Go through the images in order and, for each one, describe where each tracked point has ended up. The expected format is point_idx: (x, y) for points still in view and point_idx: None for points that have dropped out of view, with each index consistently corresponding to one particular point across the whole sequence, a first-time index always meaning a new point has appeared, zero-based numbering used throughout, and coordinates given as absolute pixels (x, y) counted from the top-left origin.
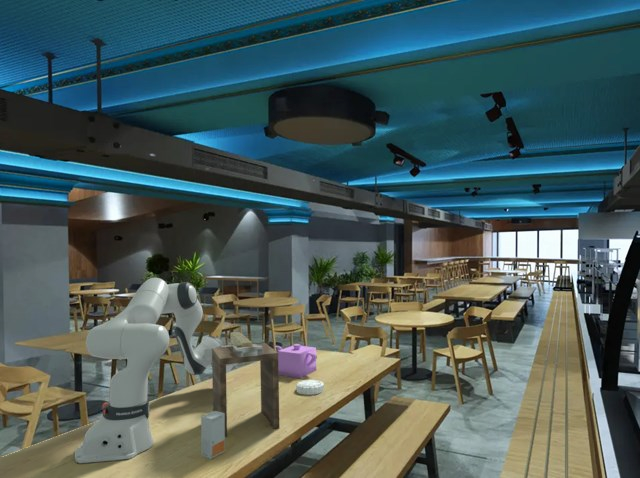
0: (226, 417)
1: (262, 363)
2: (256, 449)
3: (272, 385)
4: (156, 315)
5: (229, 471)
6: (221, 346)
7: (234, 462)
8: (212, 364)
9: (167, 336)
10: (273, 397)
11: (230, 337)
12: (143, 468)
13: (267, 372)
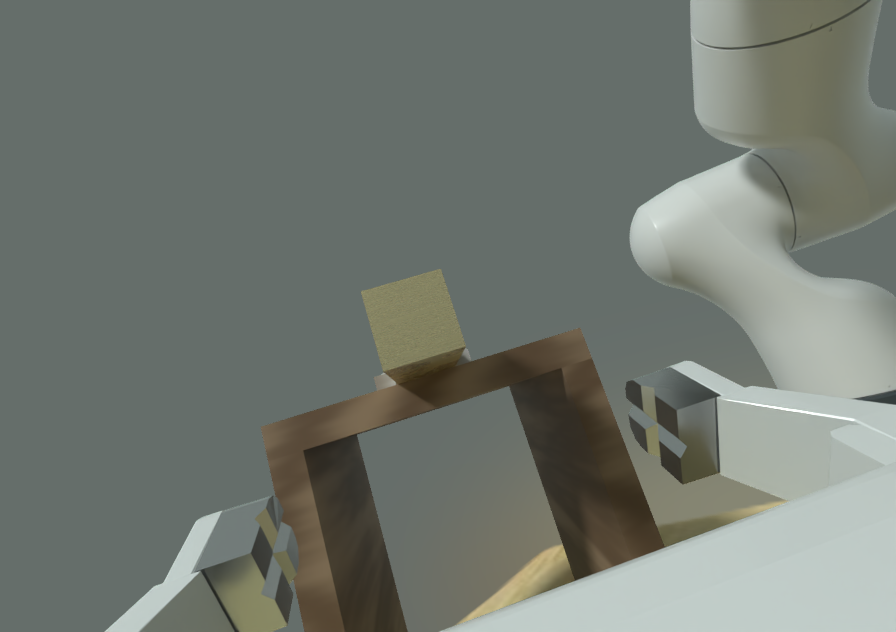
0: (570, 565)
1: (336, 523)
2: (501, 604)
3: (380, 534)
4: (702, 126)
5: (555, 547)
6: (628, 395)
7: (550, 564)
8: (611, 420)
9: (630, 243)
10: (392, 575)
11: (453, 309)
12: (748, 515)
13: (361, 520)
